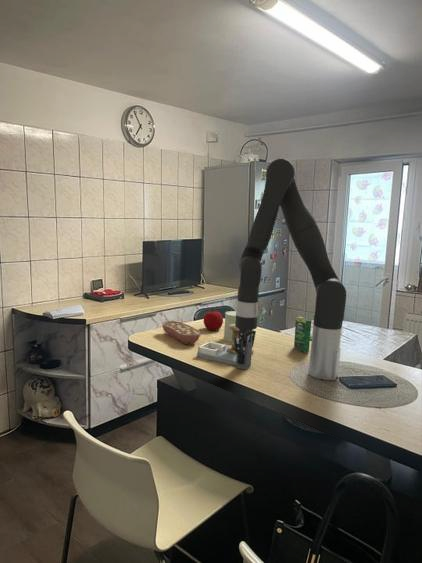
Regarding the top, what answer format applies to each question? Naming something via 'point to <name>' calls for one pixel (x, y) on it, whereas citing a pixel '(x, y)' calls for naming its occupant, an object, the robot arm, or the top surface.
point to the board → (217, 353)
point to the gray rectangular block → (247, 357)
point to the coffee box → (302, 334)
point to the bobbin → (234, 334)
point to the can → (229, 320)
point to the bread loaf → (181, 331)
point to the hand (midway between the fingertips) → (243, 362)
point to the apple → (213, 320)
